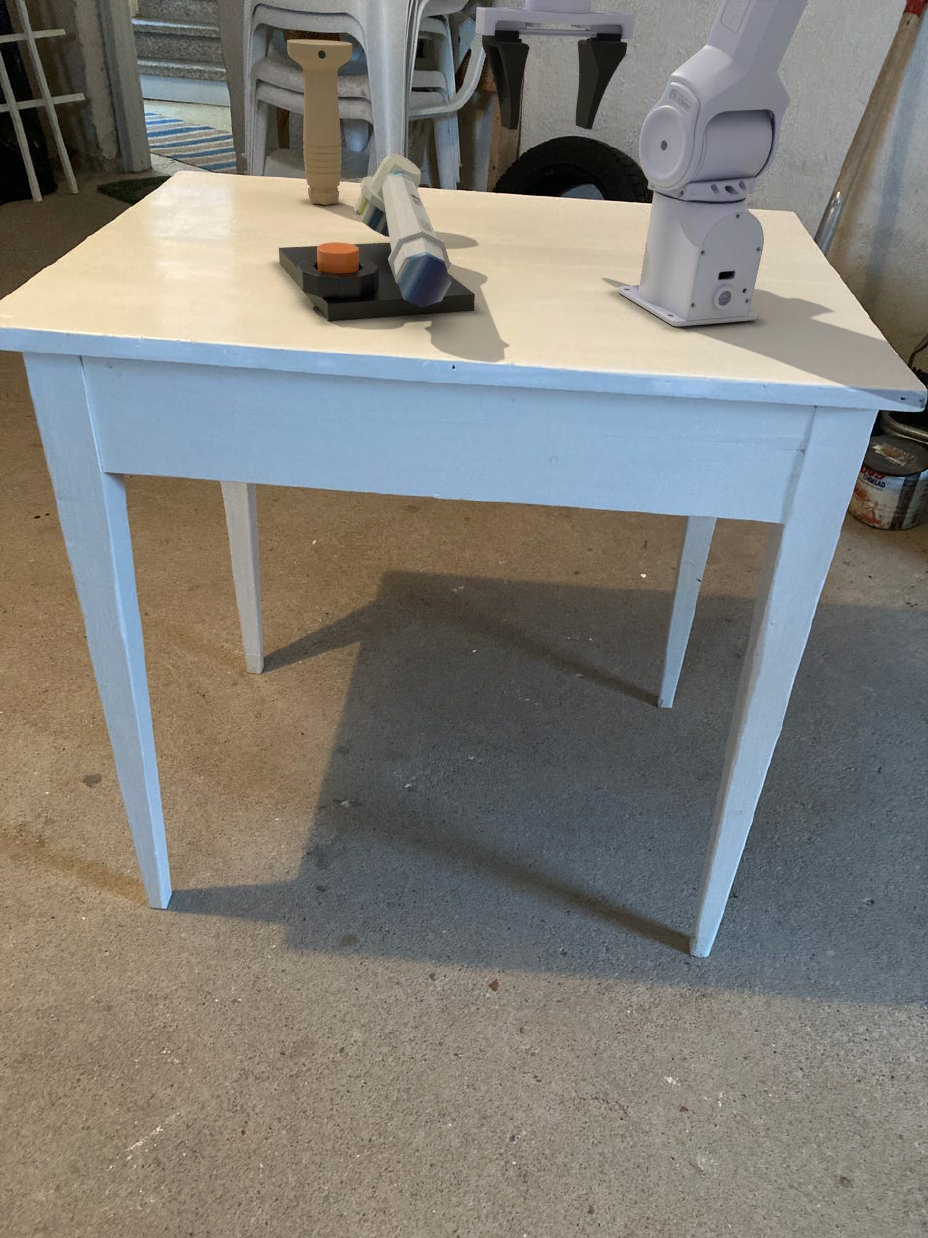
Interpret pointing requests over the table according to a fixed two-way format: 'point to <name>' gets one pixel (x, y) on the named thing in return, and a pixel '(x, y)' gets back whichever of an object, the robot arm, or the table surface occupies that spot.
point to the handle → (321, 114)
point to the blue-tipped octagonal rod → (405, 230)
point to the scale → (363, 286)
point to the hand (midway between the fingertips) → (546, 127)
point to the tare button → (338, 257)
